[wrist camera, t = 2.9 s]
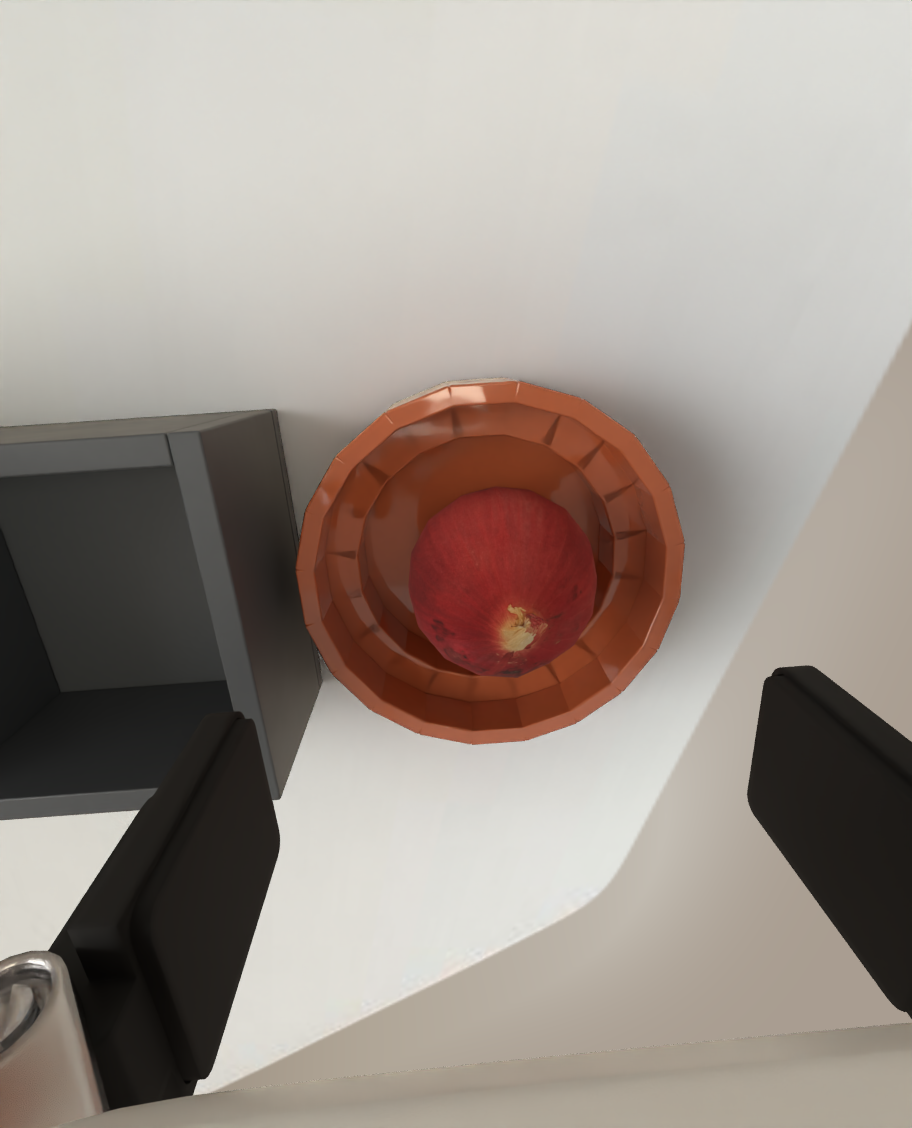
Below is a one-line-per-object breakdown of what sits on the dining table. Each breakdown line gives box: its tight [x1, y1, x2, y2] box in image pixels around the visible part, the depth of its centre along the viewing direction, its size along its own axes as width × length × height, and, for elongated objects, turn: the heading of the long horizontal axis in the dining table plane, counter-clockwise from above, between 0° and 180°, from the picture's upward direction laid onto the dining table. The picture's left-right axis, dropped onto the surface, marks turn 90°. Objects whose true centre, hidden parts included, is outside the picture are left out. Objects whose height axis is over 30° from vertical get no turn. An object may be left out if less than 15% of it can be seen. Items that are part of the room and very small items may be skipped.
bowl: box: [295, 377, 685, 745], centre depth 19 cm, size 12×12×4 cm
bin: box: [0, 409, 322, 820], centre depth 18 cm, size 11×11×7 cm
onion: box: [408, 486, 597, 678], centre depth 17 cm, size 6×6×8 cm
